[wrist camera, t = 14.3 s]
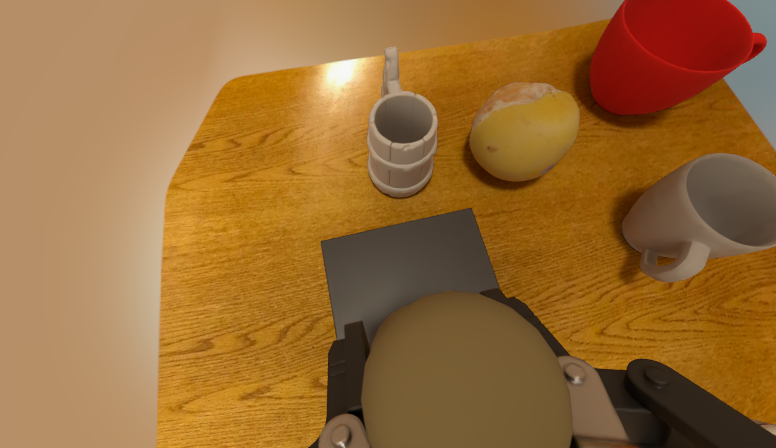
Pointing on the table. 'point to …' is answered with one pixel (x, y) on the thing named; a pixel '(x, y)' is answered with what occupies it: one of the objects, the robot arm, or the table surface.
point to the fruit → (524, 130)
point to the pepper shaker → (463, 379)
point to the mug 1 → (400, 135)
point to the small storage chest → (403, 267)
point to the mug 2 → (703, 215)
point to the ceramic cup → (668, 52)
